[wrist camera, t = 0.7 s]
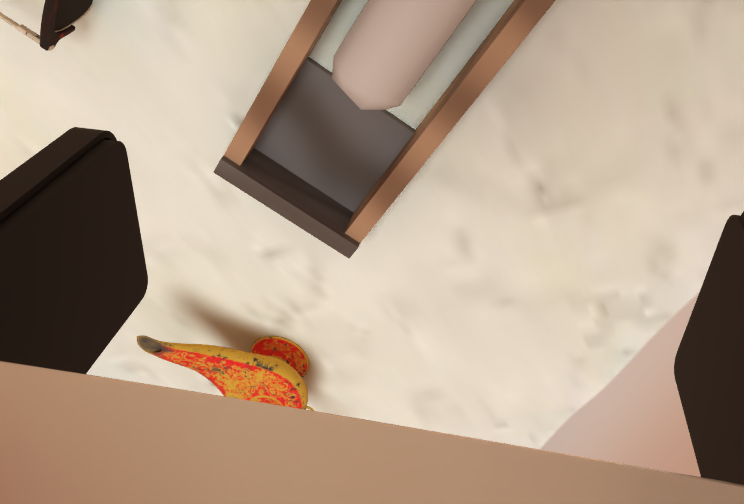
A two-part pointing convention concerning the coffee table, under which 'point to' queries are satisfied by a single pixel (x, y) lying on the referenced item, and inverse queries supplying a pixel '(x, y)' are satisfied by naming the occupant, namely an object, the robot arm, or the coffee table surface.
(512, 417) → the coffee table surface
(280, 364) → the magic lamp
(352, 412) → the coffee table surface
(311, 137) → the trap channel
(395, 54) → the tube
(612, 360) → the coffee table surface
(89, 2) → the sunglasses
